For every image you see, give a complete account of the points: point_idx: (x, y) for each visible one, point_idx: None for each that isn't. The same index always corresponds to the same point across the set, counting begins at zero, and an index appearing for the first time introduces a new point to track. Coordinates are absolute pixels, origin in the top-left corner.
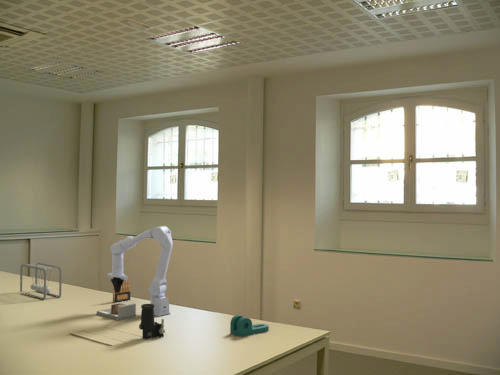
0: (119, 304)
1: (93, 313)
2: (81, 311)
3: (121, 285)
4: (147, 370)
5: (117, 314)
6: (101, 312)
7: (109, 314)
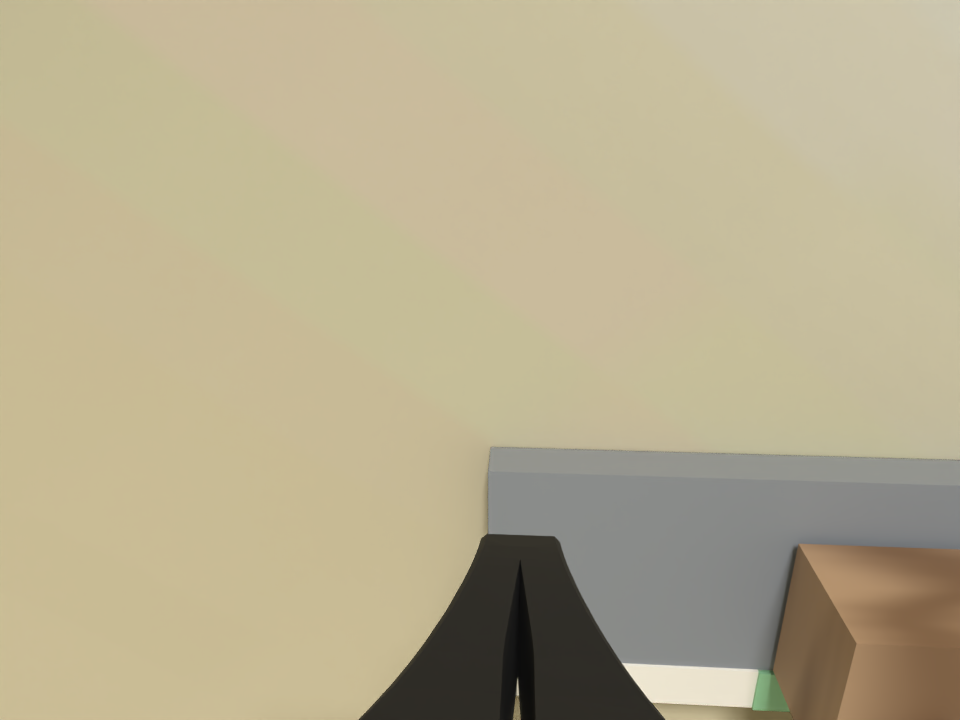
0: (942, 709)
1: None
2: (206, 678)
3: (630, 680)
4: None
5: None
6: None
7: None
